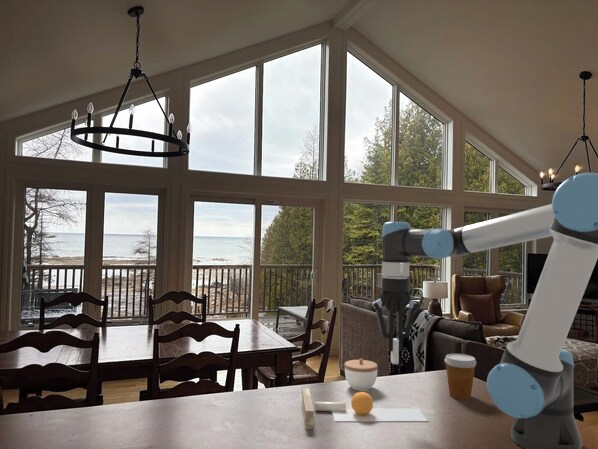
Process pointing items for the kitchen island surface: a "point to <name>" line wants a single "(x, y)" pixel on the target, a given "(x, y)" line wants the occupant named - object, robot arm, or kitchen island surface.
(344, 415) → the plate
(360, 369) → the lidded jar
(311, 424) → the backstop
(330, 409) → the pin
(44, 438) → the kitchen island surface
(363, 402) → the ball
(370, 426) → the kitchen island surface
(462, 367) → the disposable coffee cup
